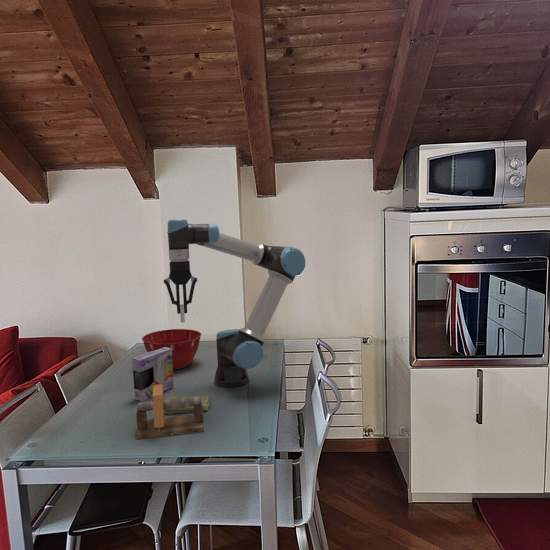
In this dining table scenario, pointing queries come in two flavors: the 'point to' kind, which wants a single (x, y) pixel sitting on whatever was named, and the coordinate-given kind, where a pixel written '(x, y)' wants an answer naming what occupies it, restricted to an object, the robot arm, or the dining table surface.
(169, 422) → the rod stand
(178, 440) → the dining table surface
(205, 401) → the washcloth
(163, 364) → the cake pan box
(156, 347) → the mixing bowl
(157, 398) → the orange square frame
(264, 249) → the robot arm
